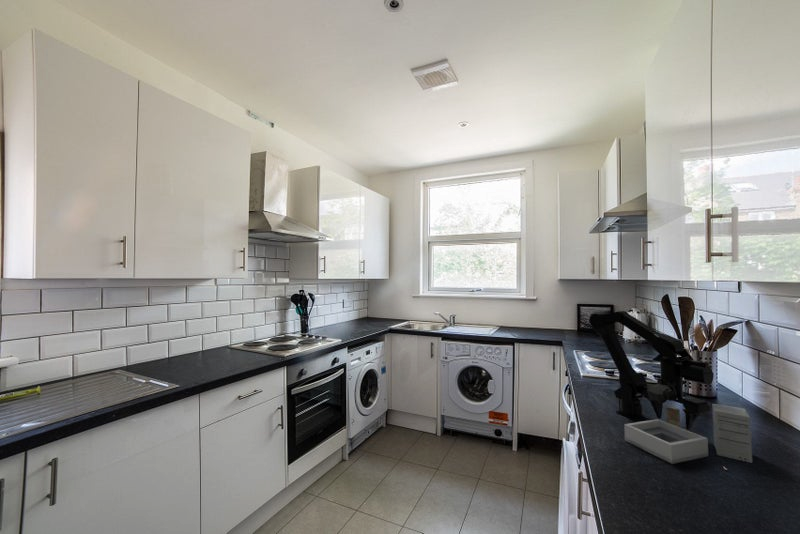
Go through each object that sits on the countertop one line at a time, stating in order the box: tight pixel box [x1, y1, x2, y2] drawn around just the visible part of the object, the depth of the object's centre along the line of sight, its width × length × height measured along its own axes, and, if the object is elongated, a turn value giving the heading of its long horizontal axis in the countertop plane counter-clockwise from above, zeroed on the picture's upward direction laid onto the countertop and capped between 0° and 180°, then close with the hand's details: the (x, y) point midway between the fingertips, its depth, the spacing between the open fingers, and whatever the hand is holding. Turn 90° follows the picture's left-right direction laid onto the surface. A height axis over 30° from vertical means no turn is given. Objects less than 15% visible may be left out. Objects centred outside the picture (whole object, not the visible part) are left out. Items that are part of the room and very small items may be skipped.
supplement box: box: [711, 403, 753, 464], centre depth 97 cm, size 7×7×13 cm
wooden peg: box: [665, 406, 681, 428], centre depth 112 cm, size 4×4×7 cm
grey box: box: [624, 418, 709, 465], centre depth 100 cm, size 14×14×5 cm
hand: (673, 423), depth 112 cm, fingers open, 9 cm apart
